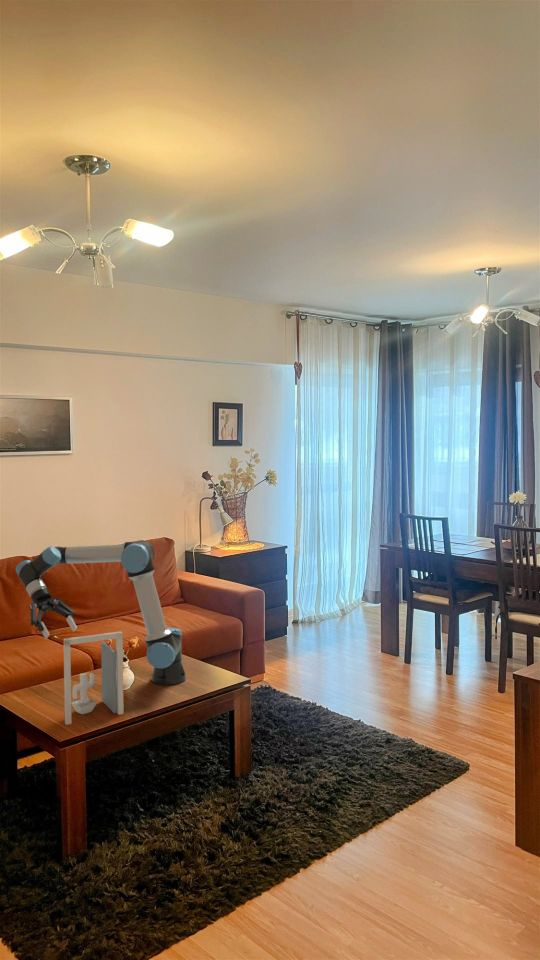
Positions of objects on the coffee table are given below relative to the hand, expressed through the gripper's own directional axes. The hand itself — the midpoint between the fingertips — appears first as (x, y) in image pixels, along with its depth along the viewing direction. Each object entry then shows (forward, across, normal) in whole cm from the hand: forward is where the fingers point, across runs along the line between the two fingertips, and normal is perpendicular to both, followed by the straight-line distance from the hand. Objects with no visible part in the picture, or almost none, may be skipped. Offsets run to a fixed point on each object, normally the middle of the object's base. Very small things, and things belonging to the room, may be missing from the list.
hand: (61, 633), depth 284 cm
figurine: (+32, +4, -7) cm, 33 cm away
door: (+35, -6, -3) cm, 36 cm away
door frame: (+39, +6, -1) cm, 39 cm away
